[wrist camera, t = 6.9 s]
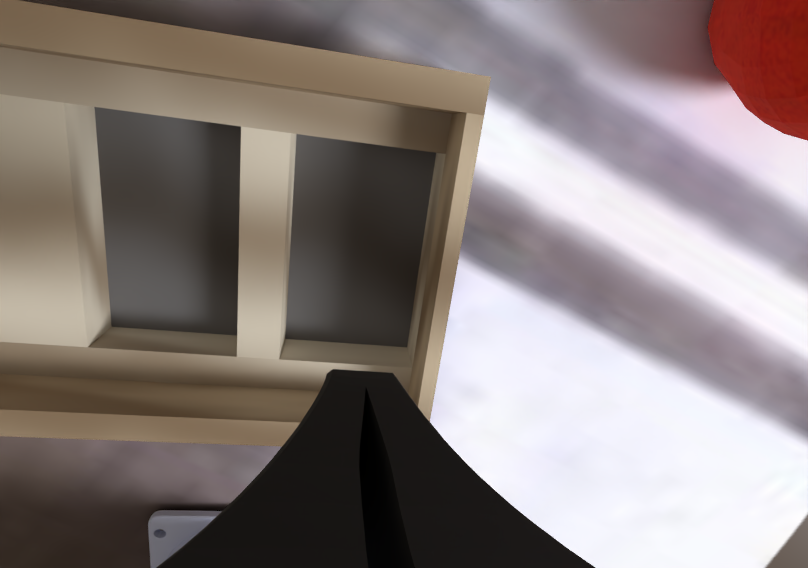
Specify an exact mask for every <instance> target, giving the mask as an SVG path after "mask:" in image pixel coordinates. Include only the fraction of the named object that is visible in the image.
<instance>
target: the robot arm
mask: <svg viewBox="0 0 808 568" xmlns="http://www.w3.org/2000/svg"><path fill="white" fill-rule="evenodd" d="M159 529H162V530H164V531H162V530H159ZM148 532H149V549H150V566H151V568H595V567H594V566H592V565H591V564H589V563H588V562H586V561H585V560H583V559H582V558H581V557H579V556H578V555H576V554H575V553H573V552H572V551H570V550H569V549H568V548H566V547H565V546H563V545H562V544H561V543H559V542H558V541H557V540H556V539H554V538H553V537H552V536H550V535H549V534H548V533H546V532H545V531H544V530H542V529H541V528H540V527H538V526H537V525H536V524H534V523H533V522H532V521H530V520H529V519H528V518H527V517H525V516H524V515H523V514H522V513H520V512H519V511H518V510H517V509H516V508H514V507H513V506H512V505H511V504H510V503H508V502H507V501H506V500H505V499H504V498H503V497H502V496H501V495H499V494H498V493H497V492H496V491H495V490H494V489H493V488H492V487H490V486H489V485H488V484H487V483H486V482H485V481H484V480H483V479H482V478H480V477H479V476H478V475H477V474H476V473H475V472H474V471H473V470H472V469H471V468H470V467H469V466H468V465H467V464H466V463H465V462H464V461H463V460H462V458H461V457H460V456H459V455H458V454H457V453H456V452H455V451H454V450H453V449H452V448H451V447H450V446H449V445H448V443H447V442H446V441H445V440H444V439H443V438H442V437H441V435H440V434H439V433H438V432H437V430H436V429H435V428H434V427H433V426H432V424H431V423H430V422H429V421H428V419H427V418H426V417H425V416H424V414H423V413H422V412H421V410H420V409H419V408H418V406H417V405H416V404H415V402H414V401H413V400H412V398H411V397H410V396H409V394H408V393H407V391H406V390H405V389H404V387H403V386H402V384H401V383H400V382H399V380H398V379H397V377H396V376H395V375H394V374H393V373H389V372H372V371H356V370H340V369H332V370H331V371H330V372H328V373H327V374H326V378H325V381H324V383H323V386H322V388H321V390H320V392H319V394H318V395H317V397H316V399H315V401H314V402H313V404H312V406H311V407H310V409H309V410H308V412H307V413H306V415H305V416H304V418H303V419H302V421H301V422H300V424H299V425H298V427H297V428H296V429H295V431H294V432H293V433H292V435H291V436H290V437H289V439H288V440H287V441H286V442H285V444H284V445H283V446H282V447H281V449H280V450H279V451H278V453H277V454H276V455H275V456H274V458H273V459H272V460H271V461H270V462H269V463H268V465H267V466H266V467H265V468H264V469H263V470H262V471H261V472H260V474H259V475H258V476H257V477H256V478H255V479H254V480H253V481H252V482H251V483H250V484H249V485H248V486H247V487H246V488H245V489H244V490H243V491H242V493H241V494H240V495H239V496H238V497H237V498H236V499H235V500H234V501H232V502H231V503H230V504H229V505H228V506H227V507H226V508H225V509H224V510H223V511H184V510H160V511H156V512H154V513H153V514H152V515H151V517H150V519H149V522H148Z"/></svg>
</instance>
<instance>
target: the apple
mask: <svg viewBox="0 0 808 568" xmlns="http://www.w3.org/2000/svg"><path fill="white" fill-rule="evenodd" d="M708 33H709V38H710V44H711V49H712V54H713V60H714V64H715V65H716V67H717V68H718V69H719V71H720V72H721V73H722V75H723V76H724V77H725V79H726V80H727V81H728V83H729V84H730V86H731V87H732V88H733V90H734V91H735V93H736V94H737V96H738V97H739V99H740V100H741V102H742V103H743V104H744V106H745V107H746V109H748V110H749V111H750V112H752V113H753V114H754V115H755V116H757V117H758V118H759V119H760V120H762V121H763V122H764V123H766V124H768V125H769V126H771V127H773V128H775V129H777V130H778V131H780V132H782V133H784V134H787V135H791V136H794V137H798V138H801V139H805V140H808V0H714V2H713V6H712V11H711V15H710V19H709V23H708Z"/></svg>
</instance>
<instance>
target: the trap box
mask: <svg viewBox="0 0 808 568" xmlns="http://www.w3.org/2000/svg"><path fill="white" fill-rule="evenodd" d="M490 79H491V77H488V76H482V75H476V74H471V73H464V72H458V71H452V70H446V69H440V68H434V67H427V66H421V65H415V64H409V63H403V62H397V61H390V60H384V59H378V58H372V57H366V56H360V55H353V54H347V53H341V52H335V51H329V50H323V49H316V48H310V47H304V46H298V45H292V44H286V43H279V42H273V41H267V40H261V39H255V38H249V37H242V36H236V35H230V34H224V33H218V32H212V31H205V30H199V29H193V28H187V27H181V26H175V25H168V24H162V23H156V22H150V21H144V20H137V19H131V18H125V17H119V16H113V15H107V14H100V13H94V12H88V11H82V10H76V9H70V8H63V7H57V6H51V5H45V4H39V3H33V2H26V1H20V0H0V436H11V437H39V438H66V439H94V440H122V441H149V442H177V443H204V444H232V445H260V446H283V445H284V444H285V442H286V441H287V440H288V439H289V437H290V436H291V435H292V433H293V432H294V431H295V429H296V428H297V427H298V425H299V424H300V422H301V421H302V419H303V418H304V416H305V415H306V413H307V412H308V410H309V409H310V407H311V406H312V404H313V402H314V401H315V399H316V397H317V395H318V394H319V392H320V390H321V388H322V386H323V383H324V381H325V378H326V374H327V373H328V372H330V371H331V370H332V369H340V370H356V371H372V372H389V373H393V374H394V375H395V376H396V377H397V379H398V380H399V382H400V383H401V384H402V386H403V387H404V389H405V390H406V391H407V393H408V394H409V396H410V397H411V398H412V400H413V401H414V402H415V404H416V405H417V406H418V408H419V409H420V410H421V412H422V413H423V414H424V416H425V417H426V418H427V419H428V421H429V422H430V416H431V411H432V405H433V399H434V394H435V388H436V383H437V377H438V371H439V366H440V360H441V354H442V349H443V343H444V337H445V332H446V326H447V321H448V315H449V309H450V304H451V298H452V292H453V287H454V281H455V276H456V270H457V264H458V259H459V253H460V247H461V242H462V236H463V231H464V225H465V219H466V214H467V208H468V202H469V197H470V191H471V186H472V180H473V174H474V169H475V163H476V157H477V152H478V146H479V140H480V135H481V129H482V124H483V118H484V112H485V107H486V101H487V95H488V90H489V84H490Z"/></svg>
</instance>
